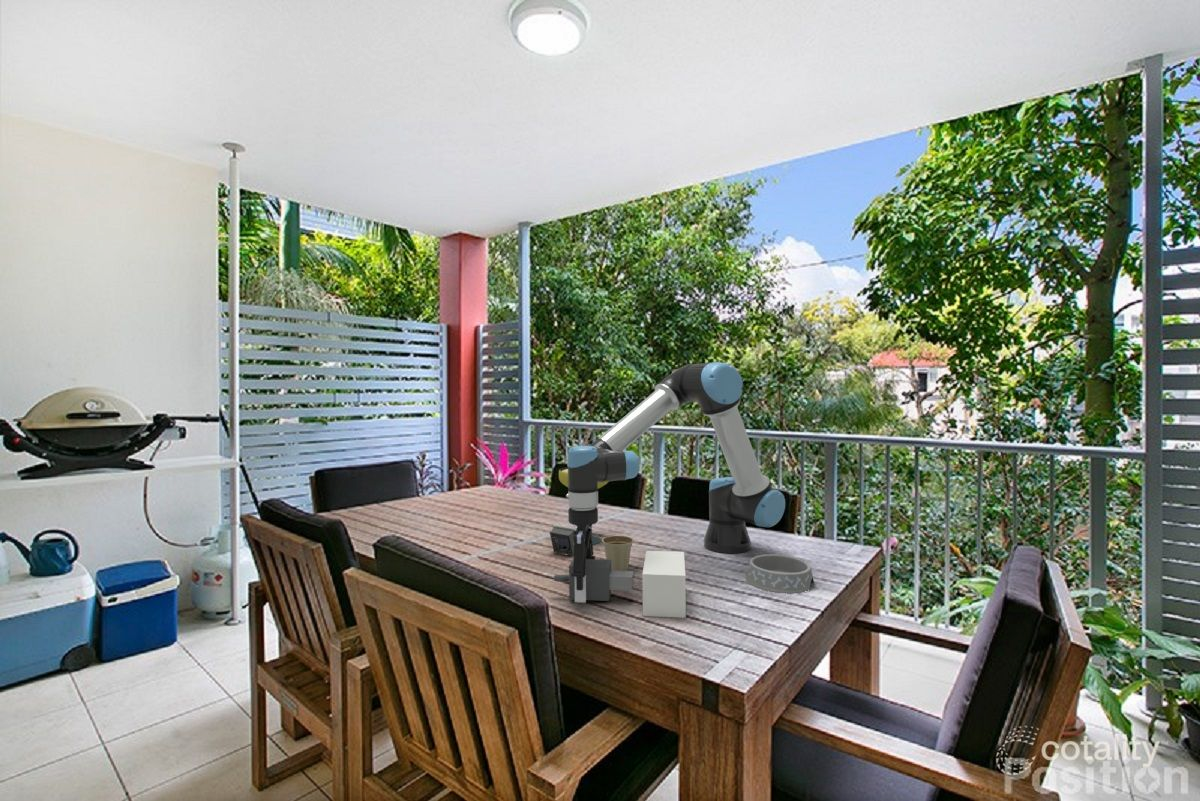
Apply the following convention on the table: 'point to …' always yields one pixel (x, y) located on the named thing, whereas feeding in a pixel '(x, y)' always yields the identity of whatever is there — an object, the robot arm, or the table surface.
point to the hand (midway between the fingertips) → (584, 593)
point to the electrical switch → (563, 539)
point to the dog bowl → (779, 574)
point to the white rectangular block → (664, 584)
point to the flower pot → (618, 551)
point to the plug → (599, 580)
